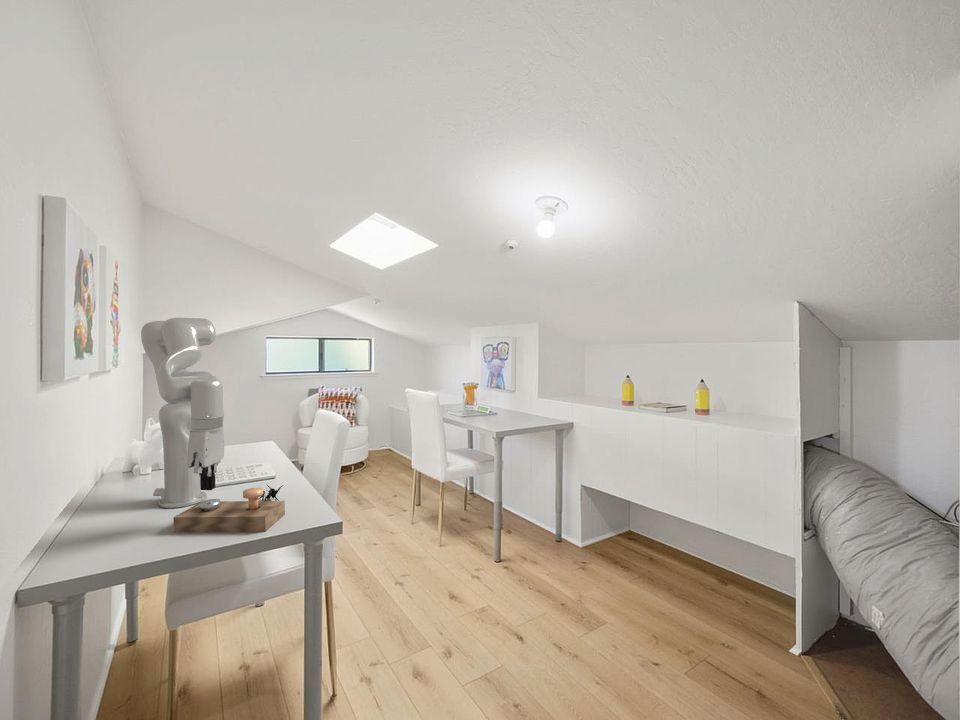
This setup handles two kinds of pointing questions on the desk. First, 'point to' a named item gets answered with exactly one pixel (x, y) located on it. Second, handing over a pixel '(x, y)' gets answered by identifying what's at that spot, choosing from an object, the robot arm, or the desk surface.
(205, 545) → the desk surface
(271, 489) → the creature
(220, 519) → the block
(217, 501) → the grey plug
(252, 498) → the terracotta plug
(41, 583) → the desk surface
